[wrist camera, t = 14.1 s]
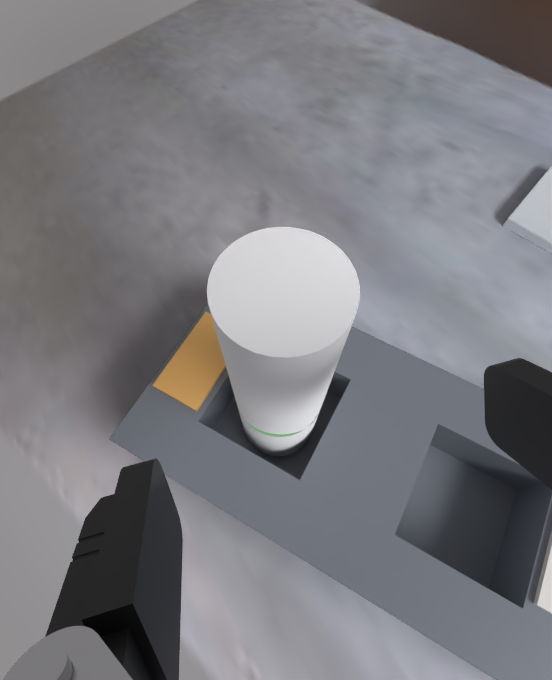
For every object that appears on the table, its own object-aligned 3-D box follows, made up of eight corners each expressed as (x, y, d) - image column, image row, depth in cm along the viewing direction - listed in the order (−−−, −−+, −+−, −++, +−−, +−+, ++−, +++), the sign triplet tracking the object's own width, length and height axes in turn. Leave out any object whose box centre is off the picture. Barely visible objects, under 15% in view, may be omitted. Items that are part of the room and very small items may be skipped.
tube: (229, 413, 25) (178, 273, 12) (285, 374, 26) (297, 205, 13) (270, 471, 24) (265, 388, 10) (327, 428, 25) (392, 301, 11)
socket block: (135, 454, 25) (106, 437, 21) (237, 306, 30) (231, 266, 25) (528, 698, 20) (597, 742, 16) (580, 475, 25) (644, 462, 20)
